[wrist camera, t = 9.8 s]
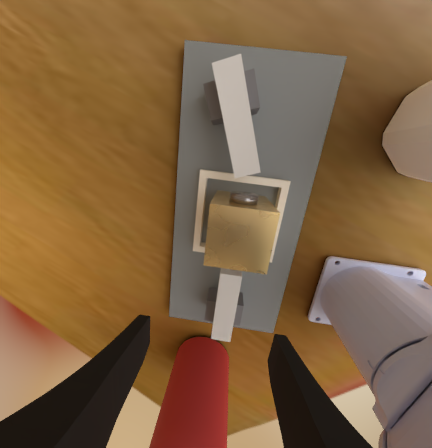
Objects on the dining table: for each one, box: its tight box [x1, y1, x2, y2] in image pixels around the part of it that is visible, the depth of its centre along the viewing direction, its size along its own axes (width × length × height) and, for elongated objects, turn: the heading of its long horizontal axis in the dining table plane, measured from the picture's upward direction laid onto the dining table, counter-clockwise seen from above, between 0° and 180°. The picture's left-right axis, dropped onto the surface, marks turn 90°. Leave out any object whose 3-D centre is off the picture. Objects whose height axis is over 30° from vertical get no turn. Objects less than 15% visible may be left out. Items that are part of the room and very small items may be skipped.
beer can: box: [149, 336, 229, 448], centre depth 20 cm, size 7×7×12 cm
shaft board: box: [169, 40, 347, 342], centre depth 17 cm, size 12×26×5 cm, turn 173°
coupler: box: [203, 190, 280, 274], centre depth 16 cm, size 4×6×6 cm
